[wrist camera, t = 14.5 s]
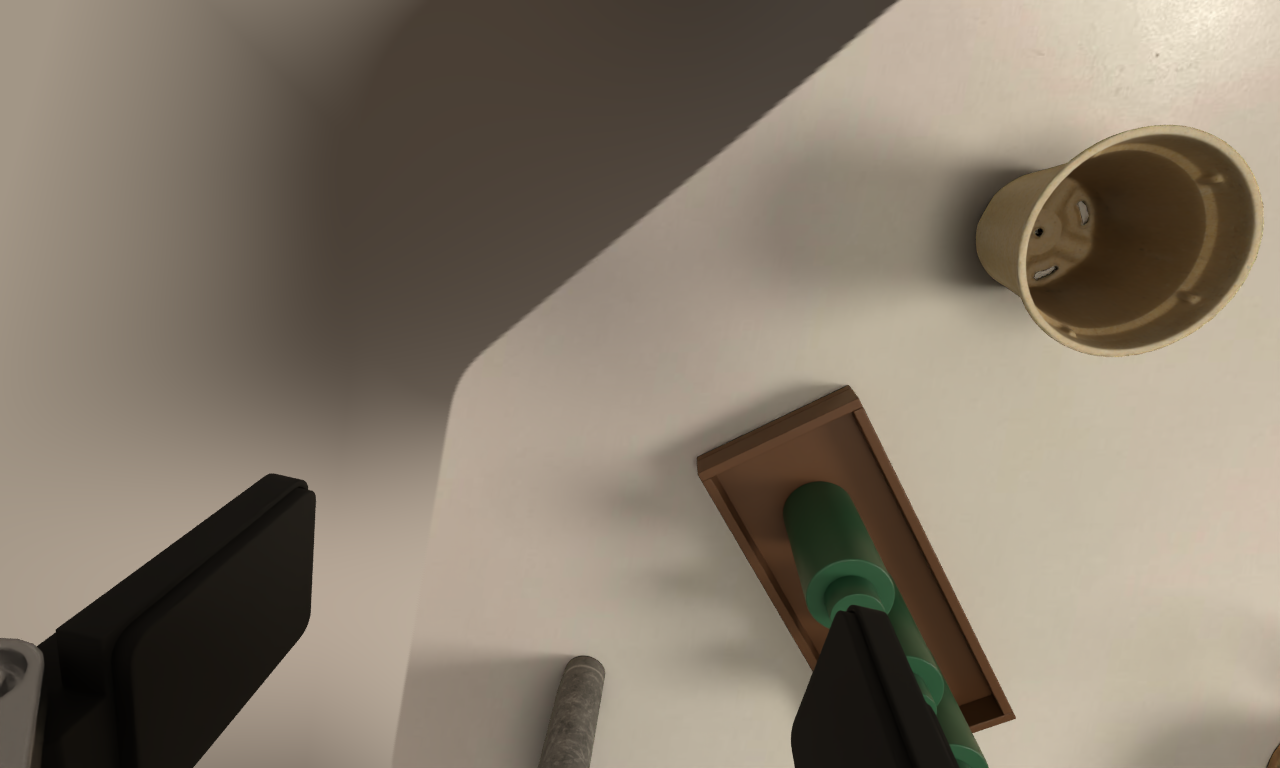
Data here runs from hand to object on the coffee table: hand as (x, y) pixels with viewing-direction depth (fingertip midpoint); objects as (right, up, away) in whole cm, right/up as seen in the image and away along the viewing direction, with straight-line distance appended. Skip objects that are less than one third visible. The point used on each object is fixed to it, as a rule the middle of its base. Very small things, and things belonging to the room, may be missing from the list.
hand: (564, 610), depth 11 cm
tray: (+15, -9, +31) cm, 36 cm away
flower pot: (+23, +12, +24) cm, 35 cm away
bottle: (+13, -4, +29) cm, 32 cm away
